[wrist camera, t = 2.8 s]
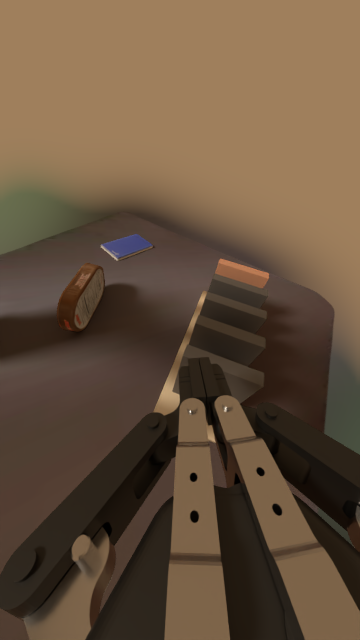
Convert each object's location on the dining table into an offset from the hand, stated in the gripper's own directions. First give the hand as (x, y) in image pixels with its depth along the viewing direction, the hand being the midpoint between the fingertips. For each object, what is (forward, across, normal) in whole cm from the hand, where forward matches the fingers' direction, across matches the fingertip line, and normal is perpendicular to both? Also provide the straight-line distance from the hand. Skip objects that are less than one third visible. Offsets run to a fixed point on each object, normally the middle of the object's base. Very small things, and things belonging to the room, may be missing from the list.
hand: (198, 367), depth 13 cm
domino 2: (+24, +7, -10) cm, 27 cm away
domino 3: (+20, +5, -11) cm, 23 cm away
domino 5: (+11, +1, -15) cm, 19 cm away
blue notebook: (+49, -15, +6) cm, 52 cm away
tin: (+26, -20, -4) cm, 33 cm away
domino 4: (+15, +3, -13) cm, 20 cm away
